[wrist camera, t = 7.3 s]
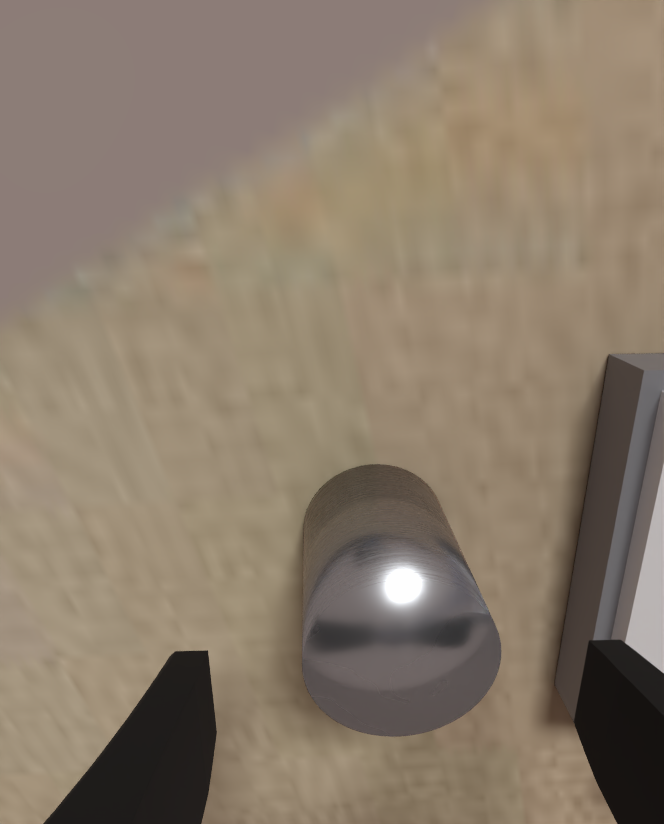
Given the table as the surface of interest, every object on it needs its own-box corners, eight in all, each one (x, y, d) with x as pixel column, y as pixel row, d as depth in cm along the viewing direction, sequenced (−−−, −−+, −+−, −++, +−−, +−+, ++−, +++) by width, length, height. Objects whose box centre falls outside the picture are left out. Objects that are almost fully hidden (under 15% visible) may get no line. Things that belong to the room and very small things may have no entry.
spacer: (451, 466, 15) (516, 582, 10) (434, 586, 16) (485, 736, 12) (306, 462, 15) (306, 578, 10) (301, 584, 16) (298, 736, 11)
